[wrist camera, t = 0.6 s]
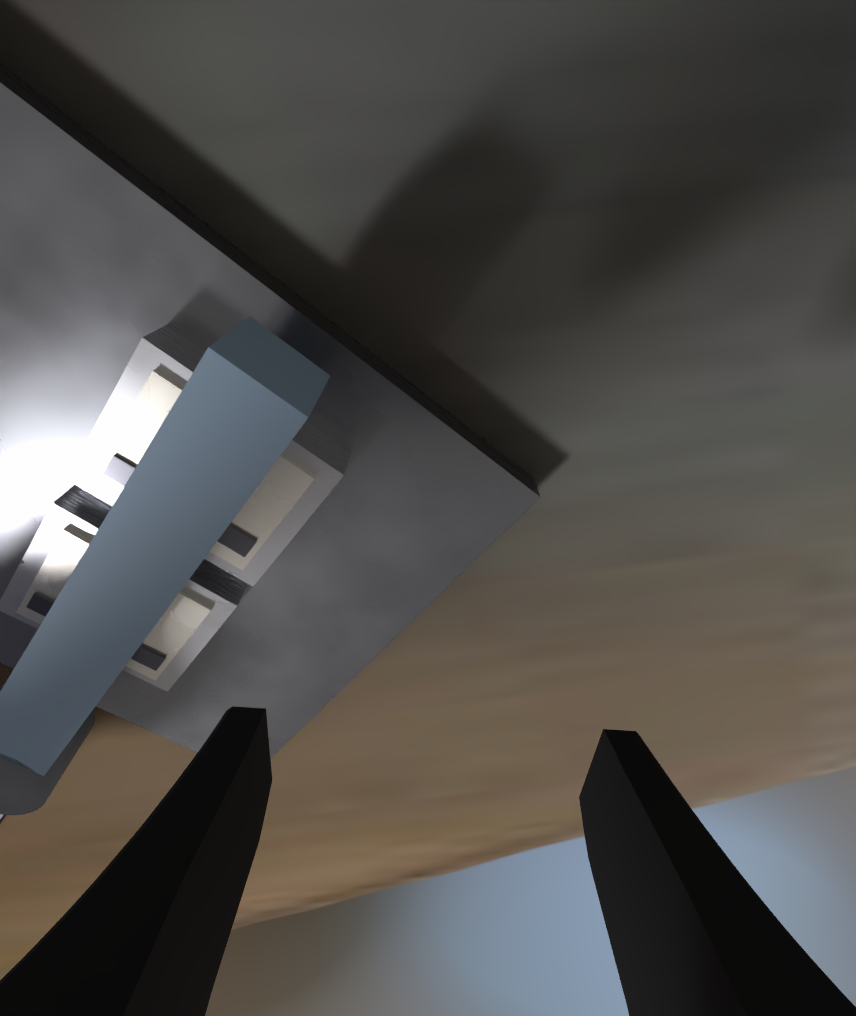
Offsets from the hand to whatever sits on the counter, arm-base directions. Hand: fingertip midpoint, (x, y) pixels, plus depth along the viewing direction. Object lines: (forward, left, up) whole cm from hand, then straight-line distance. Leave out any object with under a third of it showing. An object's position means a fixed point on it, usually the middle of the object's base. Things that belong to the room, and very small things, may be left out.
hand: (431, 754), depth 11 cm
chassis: (-6, +7, -10) cm, 14 cm away
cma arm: (-6, +6, -6) cm, 11 cm away
